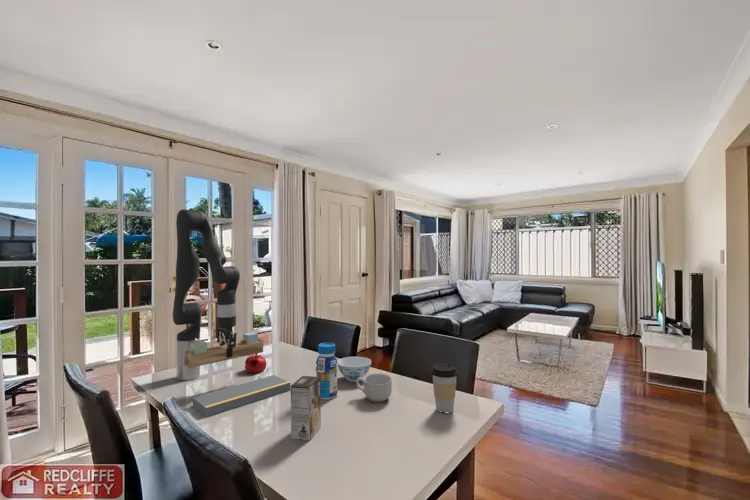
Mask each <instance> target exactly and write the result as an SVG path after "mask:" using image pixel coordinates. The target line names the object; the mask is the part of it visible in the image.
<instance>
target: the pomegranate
mask: <svg viewBox="0 0 750 500" xmlns="http://www.w3.org/2000/svg"><path fill="white" fill-rule="evenodd" d="M263 355H265V353H260V354H259V353H257V354H252V355H249V356H247V358H246V360H245V361H244V362H245V363H244V364H245V365H244V370H245V371H246V372H247V373H251V374H258V373H261V372H263V371H265V370H266V368H267V360H266V359H265V357H264V356H263Z"/></svg>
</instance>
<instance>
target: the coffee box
mask: <svg viewBox="0 0 750 500" xmlns="http://www.w3.org/2000/svg"><path fill="white" fill-rule="evenodd" d="M321 400H322V399H321V392H320V377H316V376H309V375H302V376H301V377H300V378H298V379H297V380H296V381H295V382H294V383H292V384H290V438H291V440H299V439H304V440H303V441H309V440H310V439H311V438H312V439H313V438H314V436H315V435H316V433H317V432H318V431H319V429H320V428H321V426H322V416H321V414H322V411H321V409H322V408H321V405H322V404H321V403H322V401H321ZM317 430H318V431H317ZM314 434H315V435H314ZM312 439H311V440H312ZM311 440H310V441H311Z"/></svg>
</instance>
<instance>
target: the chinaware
mask: <svg viewBox="0 0 750 500" xmlns="http://www.w3.org/2000/svg"><path fill="white" fill-rule="evenodd" d="M336 365H337V367H338V370H339V373H341V375H342V376H343V377H345V378H346V381H348V382H350V383H351V382H353V383H356V380H357V379H358V378H359V377H362V378H365V377H366V376H367V374H368V373H369V371H370V368H371V365H372V359H370V358H368V357H364V356H347V357H342V358H340V359H337V364H336ZM360 381H361V380H359V382H360Z"/></svg>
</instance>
